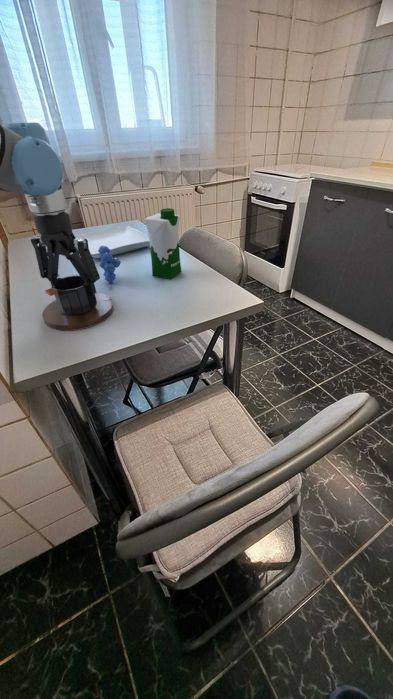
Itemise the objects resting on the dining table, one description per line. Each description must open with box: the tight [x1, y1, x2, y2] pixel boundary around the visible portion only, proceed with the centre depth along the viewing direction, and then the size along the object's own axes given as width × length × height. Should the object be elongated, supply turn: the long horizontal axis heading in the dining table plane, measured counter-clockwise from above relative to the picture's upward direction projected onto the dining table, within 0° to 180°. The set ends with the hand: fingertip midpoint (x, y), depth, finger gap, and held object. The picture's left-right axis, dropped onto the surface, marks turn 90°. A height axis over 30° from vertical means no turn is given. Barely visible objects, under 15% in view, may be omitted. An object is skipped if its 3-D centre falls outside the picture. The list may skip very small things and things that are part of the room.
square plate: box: [74, 225, 150, 259], centre depth 122 cm, size 27×27×4 cm
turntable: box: [41, 292, 115, 331], centre depth 79 cm, size 18×18×2 cm
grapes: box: [98, 245, 122, 283], centre depth 91 cm, size 12×7×12 cm, turn 23°
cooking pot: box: [45, 274, 95, 315], centre depth 76 cm, size 9×13×7 cm
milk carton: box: [143, 207, 182, 281], centre depth 92 cm, size 9×9×20 cm
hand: (78, 304), depth 78 cm, fingers closed on cooking pot, 8 cm apart
